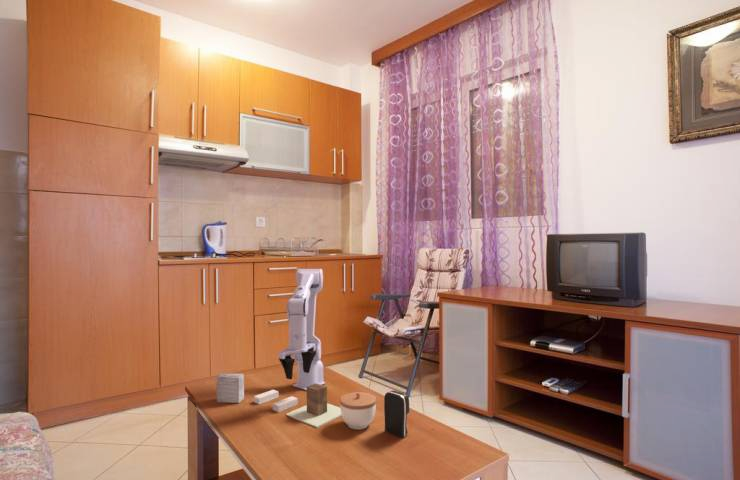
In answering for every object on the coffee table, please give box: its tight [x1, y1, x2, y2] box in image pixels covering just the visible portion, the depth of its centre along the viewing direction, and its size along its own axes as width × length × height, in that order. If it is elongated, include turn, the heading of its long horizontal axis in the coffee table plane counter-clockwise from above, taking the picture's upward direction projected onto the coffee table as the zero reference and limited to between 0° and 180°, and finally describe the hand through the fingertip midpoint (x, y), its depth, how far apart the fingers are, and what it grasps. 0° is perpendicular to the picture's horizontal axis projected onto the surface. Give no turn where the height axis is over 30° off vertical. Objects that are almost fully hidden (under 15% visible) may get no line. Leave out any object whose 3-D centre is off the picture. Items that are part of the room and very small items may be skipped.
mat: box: [285, 402, 342, 429], centre depth 128 cm, size 14×14×1 cm
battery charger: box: [383, 390, 410, 438], centre depth 115 cm, size 7×4×11 cm, turn 49°
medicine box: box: [216, 372, 245, 404], centre depth 139 cm, size 8×4×9 cm, turn 84°
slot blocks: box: [253, 389, 299, 413], centre depth 137 cm, size 8×13×2 cm, turn 51°
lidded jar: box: [339, 391, 377, 430], centre depth 121 cm, size 11×11×9 cm
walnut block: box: [306, 383, 328, 416], centre depth 129 cm, size 4×5×8 cm
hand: (297, 375), depth 135 cm, fingers open, 7 cm apart
